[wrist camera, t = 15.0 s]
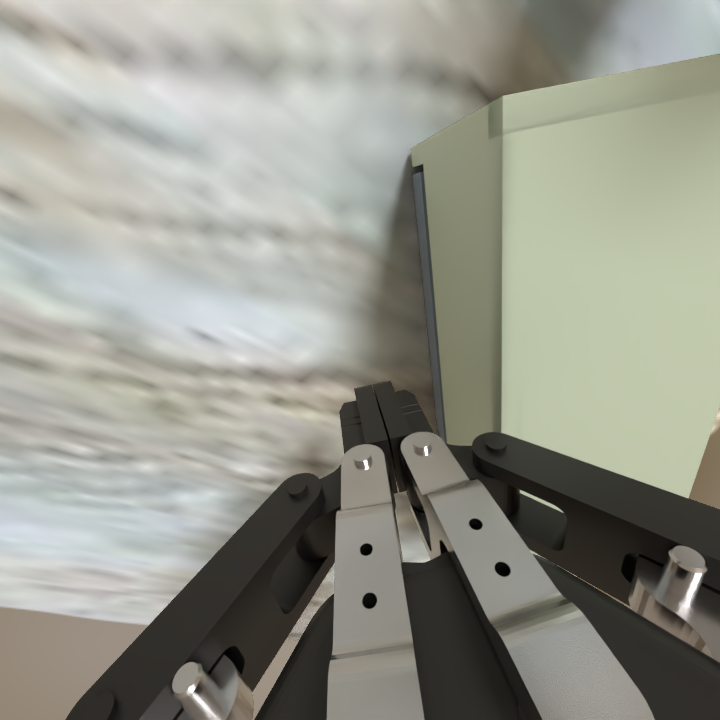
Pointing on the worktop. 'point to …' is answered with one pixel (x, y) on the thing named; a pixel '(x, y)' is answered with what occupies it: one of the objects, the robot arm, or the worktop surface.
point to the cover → (583, 269)
